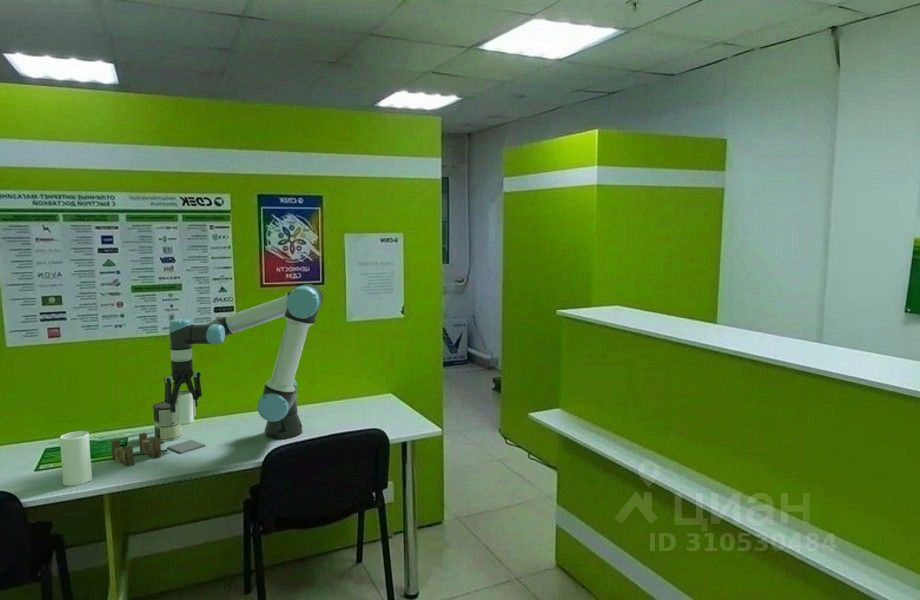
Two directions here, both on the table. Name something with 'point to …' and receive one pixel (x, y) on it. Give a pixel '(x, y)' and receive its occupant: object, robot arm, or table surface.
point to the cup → (75, 458)
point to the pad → (186, 446)
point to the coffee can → (165, 423)
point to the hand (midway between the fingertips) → (184, 417)
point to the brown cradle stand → (126, 454)
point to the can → (185, 408)
